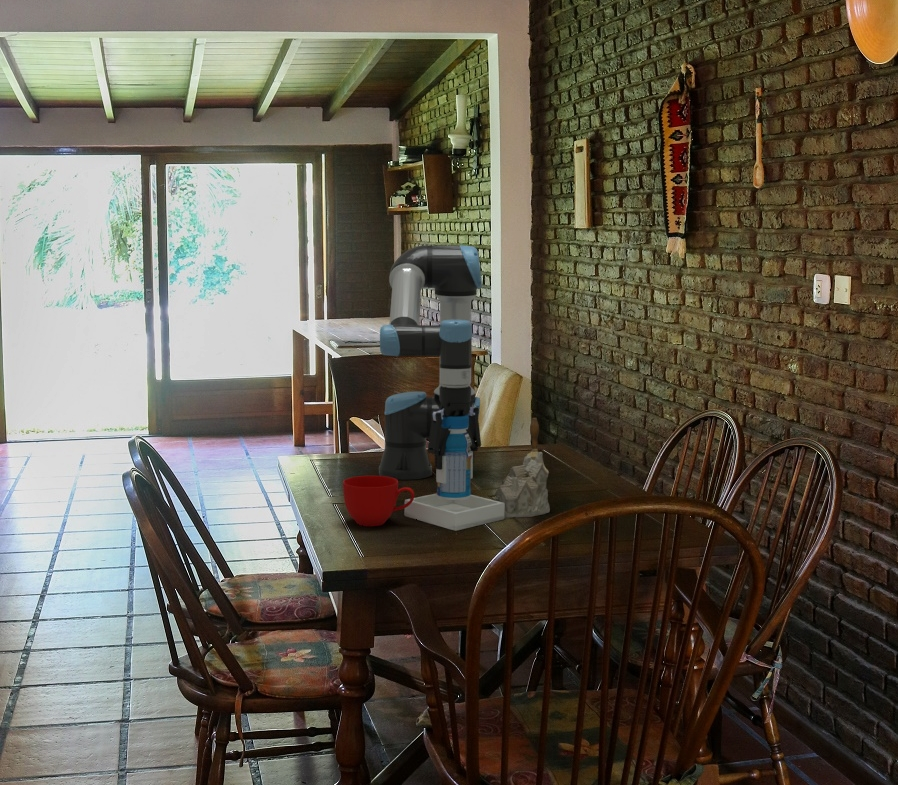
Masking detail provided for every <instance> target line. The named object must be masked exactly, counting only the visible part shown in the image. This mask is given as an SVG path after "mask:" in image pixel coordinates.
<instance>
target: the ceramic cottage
mask: <svg viewBox="0 0 898 785" xmlns="http://www.w3.org/2000/svg"><path fill="white" fill-rule="evenodd" d="M538 452H539V453H538V456H536V457H535V460H532V459H531V457H530V456H527V455H526V456H524V458H523V462H522V465H518V466H517V465H516V466H511V468H510V470H509V472H508V474H507V475H506V477H505V478H504V479H503V480H502V484H501V485H499V487H497V490H496V491H495V492H494V494H493V495H494V496H495V497H494V500H495V501H499V502H503V503H505V508H504V519H508V518H510V519H511V518H530V517H531V518H532V517H535V516H540V515H542V516H543V515H545V514H547V513H550V510H551V508H550V507H551V506H550V503H549V500H548V497H549V494H548V492H549V490H548V489H547V482H548V477H549V473H547V472H546V470H545V469H544V467H543V463H544V458H543V459H542V457H543V454H544V453H543V452H542V451H538Z"/></svg>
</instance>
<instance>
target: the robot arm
mask: <svg viewBox="0 0 898 785" xmlns="http://www.w3.org/2000/svg"><path fill="white" fill-rule="evenodd" d="M388 279H389V280H388V282H389V286H390V287H391V289H392V290H391V298H390V299H391V301H390V314H389V324H384V325H382V326H380V329H379V349H380V350H379V352H380V353H381V354H382V355H383V356H392V357H393V356H394V357H439V381H438V382H439V383H438V384H439V385H438V387H436V388H435V389H434V390H433V396H428V395H427V393H426V392H425V391H409V392H407V391H406V392H401V393H400V392H399V393H396V394H393V395H390V396H388V397H387V398H386V400H385V402H384V403H385V406H384V412H383V413H384V414H383V415H384V416H385V417H384V450H383V453H382V456H381V460H380V464H379V466H378V476H386V477H391V478H395V479H397V480H402V481H404V480H420V479H425V478H429V477H431V476H432V475H433V466H432V463H431V460H430V456H429V454H431V455H433V457H434V469H435V470H436V473H435V474H436V475H435V476H436V478H435V479H436V480H435V482H436V483H437V482H439V483H443V484H445V483H446V456H443V455H444V452H445V449H446V441H447V438H448V436H449V434H450V432H451V430H449V428H450V427H448V428H446V429H445V428H442V419H443V416H445V417H446V418H447V417H449V416H465V415H468V416H469V427H468V429H466V431H467V433H468V435H469V436H470V439H471V442H472V444H471V446H470V449H471V451H472V458H471V479H473V476H474V475H473V469H474V468H473V467H474V465H473V464H475V452H477V451H478V450H479V448H481V447H482V441H481V440H482V439H481V438H482V437H481V431H480V430H481V429H480V423H479V416H480V409H481V399H480V397H478V396H476V391H475V389H474V388H473V387H472V386H471V384H472V351H473V350H472V346H473V344H472V342H473V341H472V340H473V338H472V337H473V327H472V326H473V325H472V301H473V299H474V298H475V297H477V292H478V290H481V289H482V287H483V284H482V272H481V264H480V258H479V251H478V249H477V248H476V247H475V246H472V245H461V244H459V245H458V244H455V245H453V244H447V245H446V244H445V245H442V244H441V245H440V244H439V245H428V244H425V245H423V244H422V245H417V246H415V247H412V248H409V249H408V250H406V251H404V252H403V253H402V254H401V255H399V256H398V258H397V259H396V260H395V261H394V263H393V264H392V266H391V268H390V271H389V277H388ZM423 289H434V296H435V297H436V298H437V299H438V300H439V325H424V324H420V320H421V318H420V316H421V294H422V290H423ZM427 439H428V443H427ZM427 444H428V446H427ZM439 449H440V451H439Z"/></svg>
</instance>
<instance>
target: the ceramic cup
mask: <svg viewBox="0 0 898 785" xmlns="http://www.w3.org/2000/svg"><path fill="white" fill-rule="evenodd" d="M342 490H343V492H342V493H343V499H344V504H345V507H346V510H347V512H348V515H350V517H351V518H352V520H353V521H355V522H356V525H358V524H359V525H358V526H362V525H363V527H378V526H383V525H384V524H386V522H387V520H389V518H390V517H391V515H392V514H393V513H394V512H396V511H400V510H403V509H405V508H406V507H408V506H409V505H410V504H411V503H412V501H413V500H414V498H415V492H414V490H413V489H412V488H411V487H407V486H406V487H401V488H399V479H395V478H391V477H386V476H380V475H358V476H352V477H348V478H345V479H344V480H343V481H342ZM404 491H407V492H409V493H410V498H409V499H410V501H409V502H408V503H407V504H405V503H404V504H402V505H400V506H396V505H397V500H398V497H399V495H400V494H401V493H402V492H404Z"/></svg>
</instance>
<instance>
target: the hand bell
mask: <svg viewBox="0 0 898 785" xmlns="http://www.w3.org/2000/svg"><path fill="white" fill-rule="evenodd" d="M529 433H530V437H531V451H530V452H529V453H526V456H530V457H531V459H532V460H535V457H536V456H538V453H539V452H540V451H539V450H538V438H539V433H540V424H539V421H538V419H537V417H532V419H531V422H530V426H529ZM542 459H543V460H544V458H543V456H542ZM543 467H544V469H545V470H546V472H547V473H548V474H549V473H550V472H549V470H548V468H546V466H545V464H544V462H543Z"/></svg>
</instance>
